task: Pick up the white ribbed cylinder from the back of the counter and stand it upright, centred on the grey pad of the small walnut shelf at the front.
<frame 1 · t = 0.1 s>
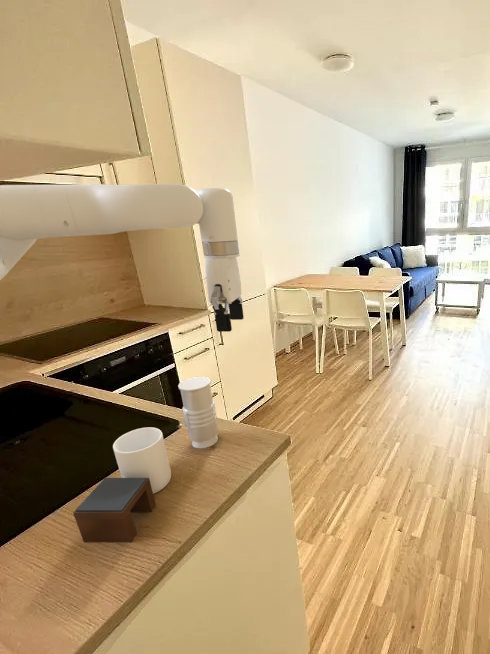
hand: (231, 324, 84), 25 cm above the counter, tool pointing down, fingers open, 9 cm apart
mug: (153, 477, 73), on the counter
white ribbed cylinder: (205, 441, 84), on the counter
shelf: (121, 522, 62), on the counter
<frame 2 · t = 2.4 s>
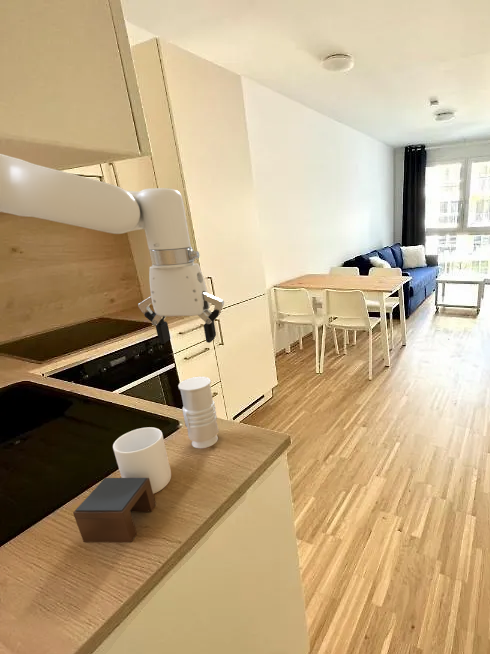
hand: (188, 341, 76), 25 cm above the counter, tool pointing down, fingers open, 9 cm apart
nothing on the counter moved.
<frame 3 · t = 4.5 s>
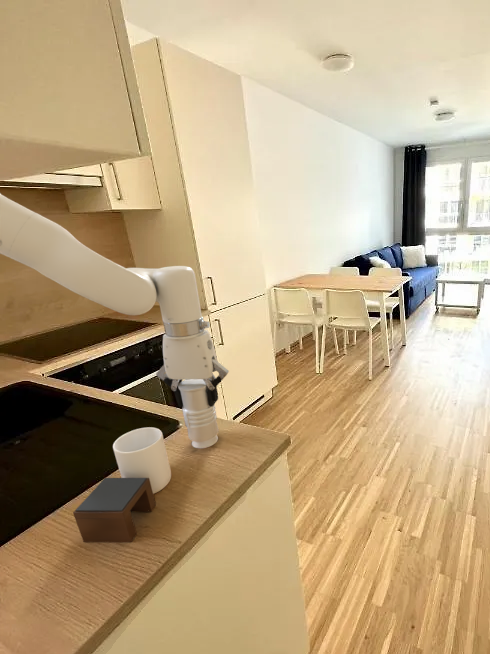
hand: (198, 403, 81), 10 cm above the counter, tool pointing down, fingers closed on white ribbed cylinder, 6 cm apart
white ribbed cylinder: (205, 441, 84), on the counter, touching gripper
everything else where it was.
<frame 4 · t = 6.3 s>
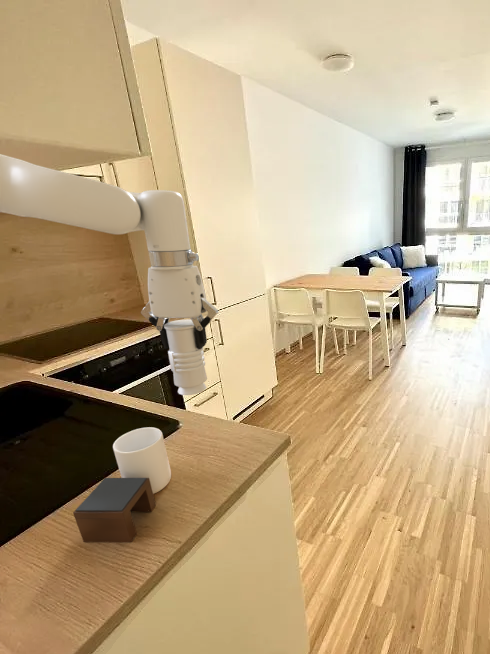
hand: (185, 346, 76), 24 cm above the counter, tool pointing down, fingers closed on white ribbed cylinder, 6 cm apart
white ribbed cylinder: (192, 390, 79), point 13 cm above the counter, touching gripper
everything else where it was.
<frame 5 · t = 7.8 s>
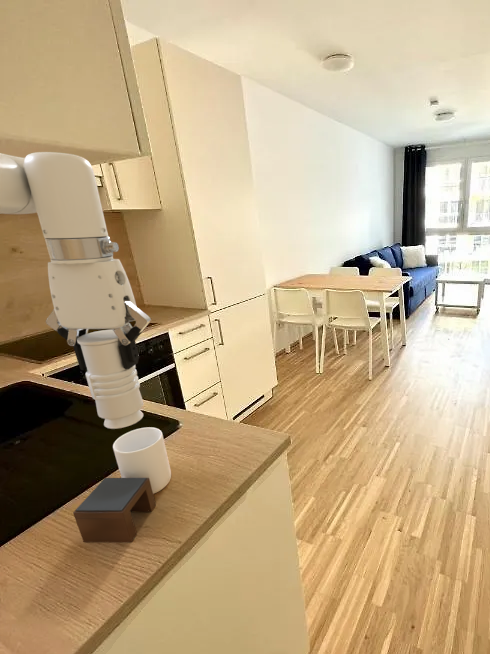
hand: (110, 365, 58), 27 cm above the counter, tool pointing down, fingers closed on white ribbed cylinder, 6 cm apart
white ribbed cylinder: (124, 420, 61), point 17 cm above the counter, touching gripper
everything else where it was.
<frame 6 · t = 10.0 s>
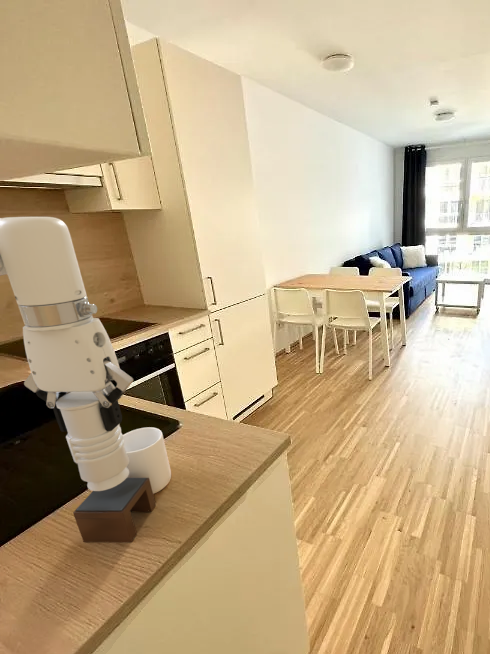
hand: (92, 425, 55), 19 cm above the counter, tool pointing down, fingers closed on white ribbed cylinder, 6 cm apart
white ribbed cylinder: (108, 479, 59), point 9 cm above the counter, touching gripper
everything else where it was.
when the fingers open (16 cm above the counter, at t = 11.4 s): white ribbed cylinder stays where it is, resting on shelf.
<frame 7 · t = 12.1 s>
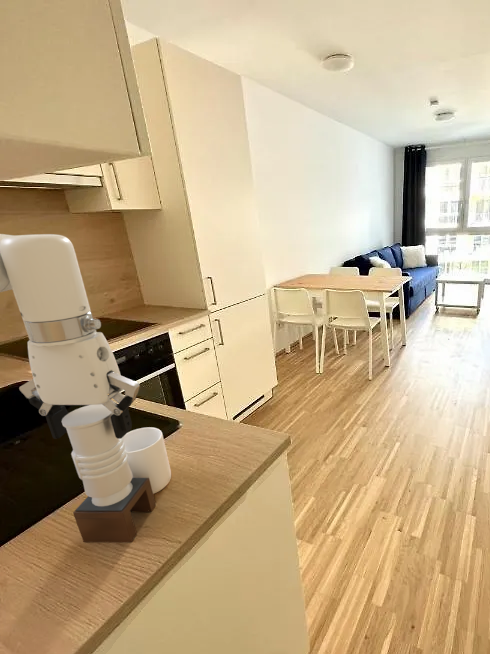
hand: (93, 433, 56), 18 cm above the counter, tool pointing down, fingers open, 9 cm apart
white ribbed cylinder: (112, 494, 60), point 6 cm above the counter, touching shelf
everything else where it was.
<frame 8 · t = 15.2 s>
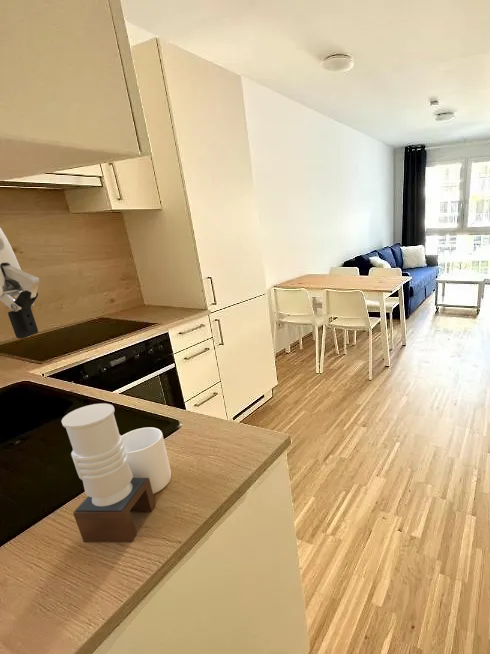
nothing on the counter moved.
at the end: white ribbed cylinder 0.1 cm off-centre on the shelf, point 6.2 cm above the shelf's base; white ribbed cylinder tilted 0°; the gripper is holding nothing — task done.
